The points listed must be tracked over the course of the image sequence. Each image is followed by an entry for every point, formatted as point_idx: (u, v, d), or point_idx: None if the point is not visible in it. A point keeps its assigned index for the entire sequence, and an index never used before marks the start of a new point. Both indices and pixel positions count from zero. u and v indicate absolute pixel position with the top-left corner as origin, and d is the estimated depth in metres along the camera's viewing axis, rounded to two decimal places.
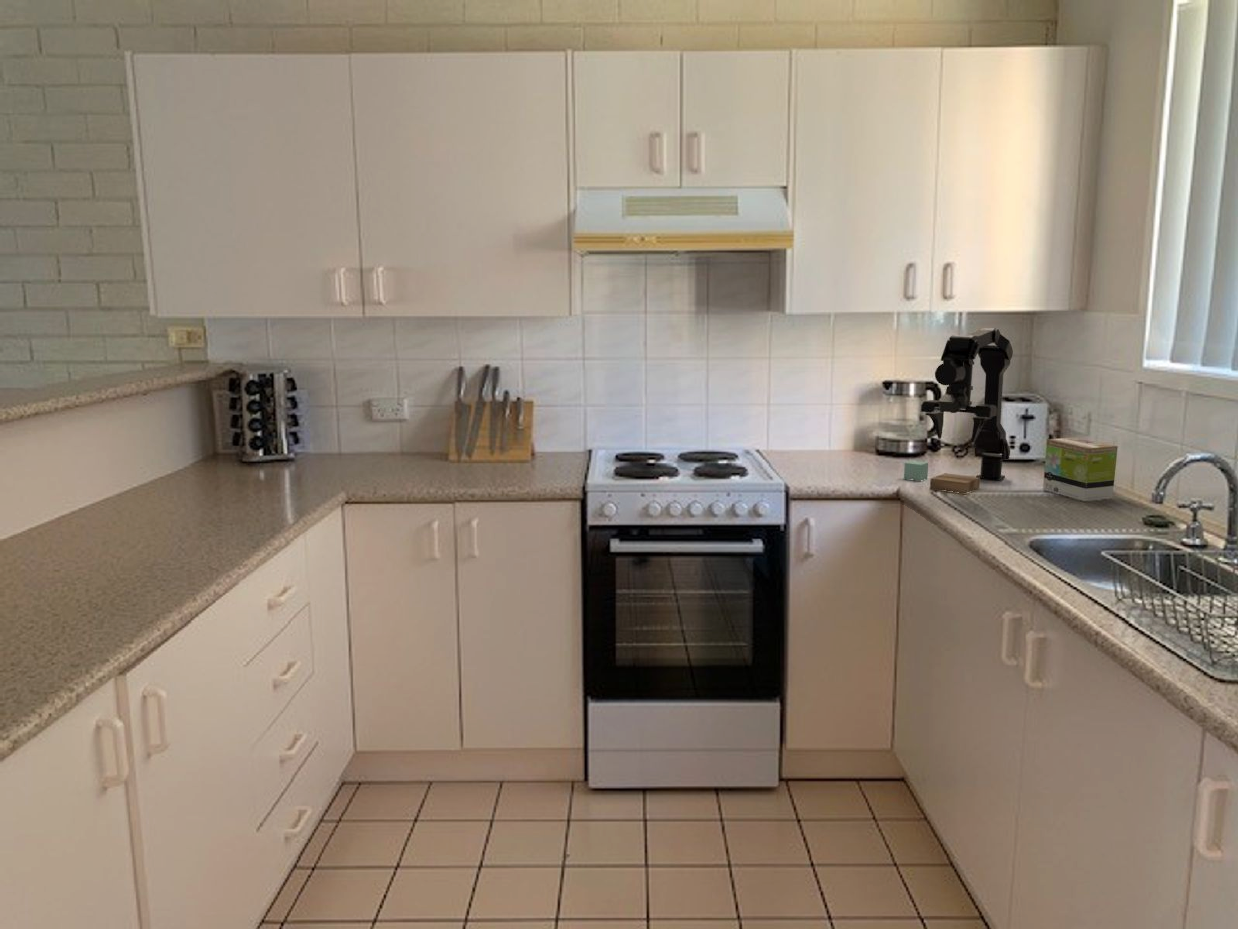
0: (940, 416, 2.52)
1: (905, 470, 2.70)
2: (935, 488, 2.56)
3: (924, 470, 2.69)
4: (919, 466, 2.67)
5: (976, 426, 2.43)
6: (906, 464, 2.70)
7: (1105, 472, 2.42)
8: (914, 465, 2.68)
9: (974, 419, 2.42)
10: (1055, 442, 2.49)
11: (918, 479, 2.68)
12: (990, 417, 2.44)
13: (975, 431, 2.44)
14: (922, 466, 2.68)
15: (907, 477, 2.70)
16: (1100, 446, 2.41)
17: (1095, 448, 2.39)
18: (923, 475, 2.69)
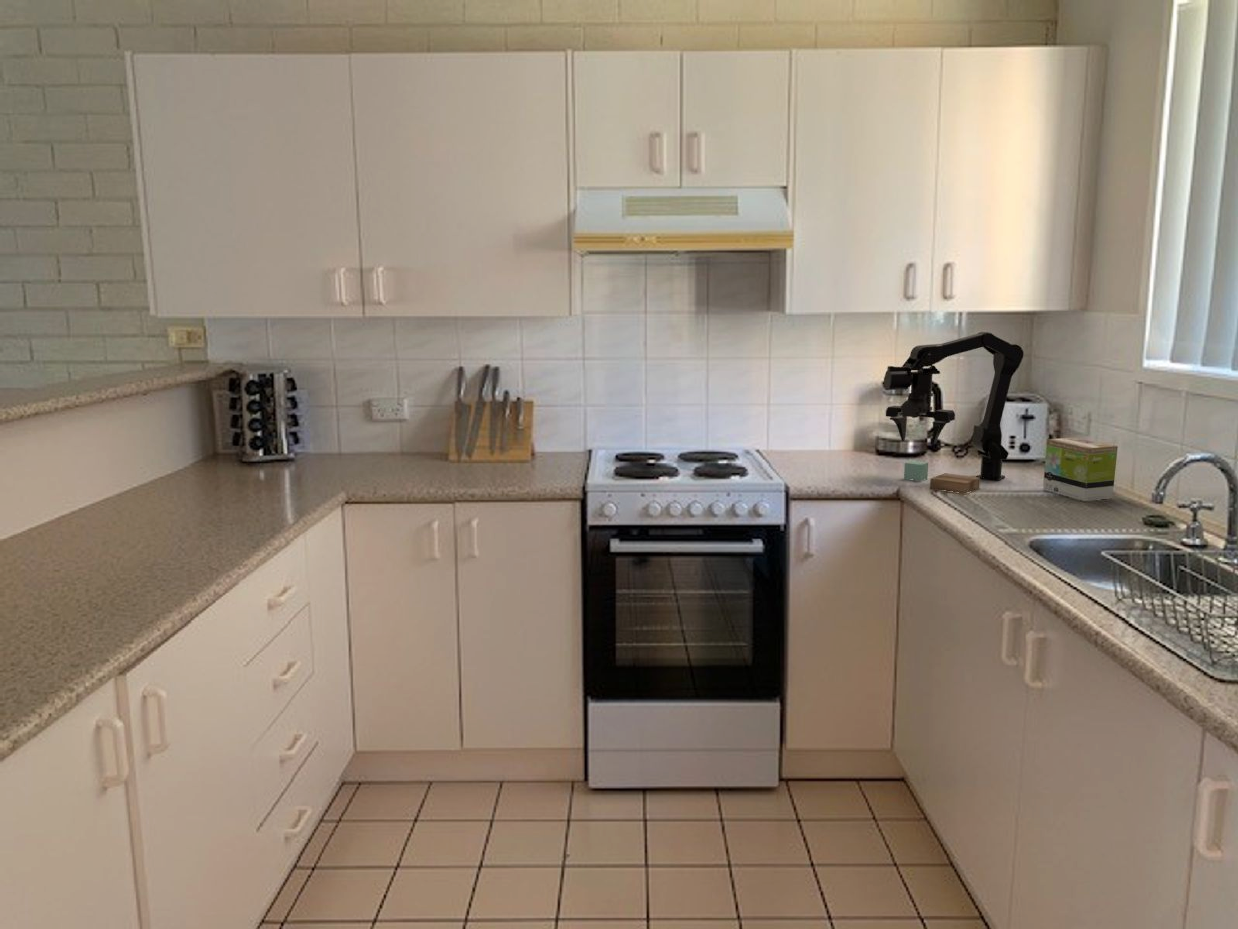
0: (903, 420, 2.72)
1: (905, 470, 2.70)
2: (935, 488, 2.56)
3: (924, 470, 2.69)
4: (919, 466, 2.67)
5: (936, 430, 2.64)
6: (906, 464, 2.70)
7: (1105, 472, 2.42)
8: (914, 465, 2.68)
9: (934, 423, 2.62)
10: (1055, 442, 2.49)
11: (918, 479, 2.68)
12: (948, 421, 2.64)
13: (935, 434, 2.64)
14: (922, 466, 2.68)
15: (907, 477, 2.70)
16: (1100, 446, 2.41)
17: (1095, 448, 2.39)
18: (923, 475, 2.69)
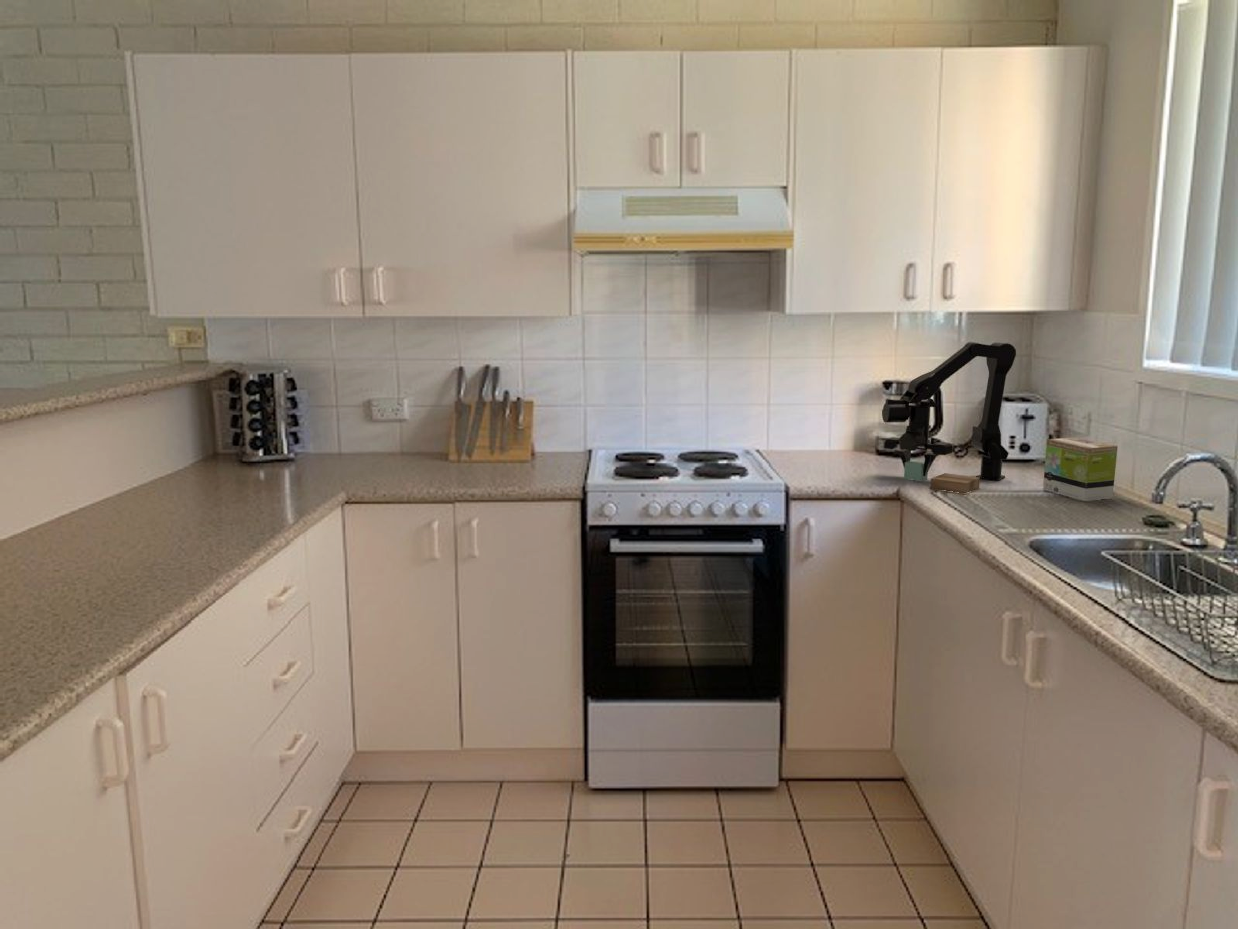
0: (908, 453, 2.72)
1: (905, 470, 2.70)
2: (935, 488, 2.56)
3: None
4: (919, 466, 2.67)
5: (927, 462, 2.67)
6: (906, 464, 2.70)
7: (1105, 472, 2.42)
8: (914, 465, 2.68)
9: (925, 455, 2.65)
10: (1055, 442, 2.49)
11: (918, 479, 2.68)
12: None
13: (926, 466, 2.67)
14: (922, 466, 2.68)
15: (907, 477, 2.70)
16: (1100, 446, 2.41)
17: (1095, 448, 2.39)
18: None
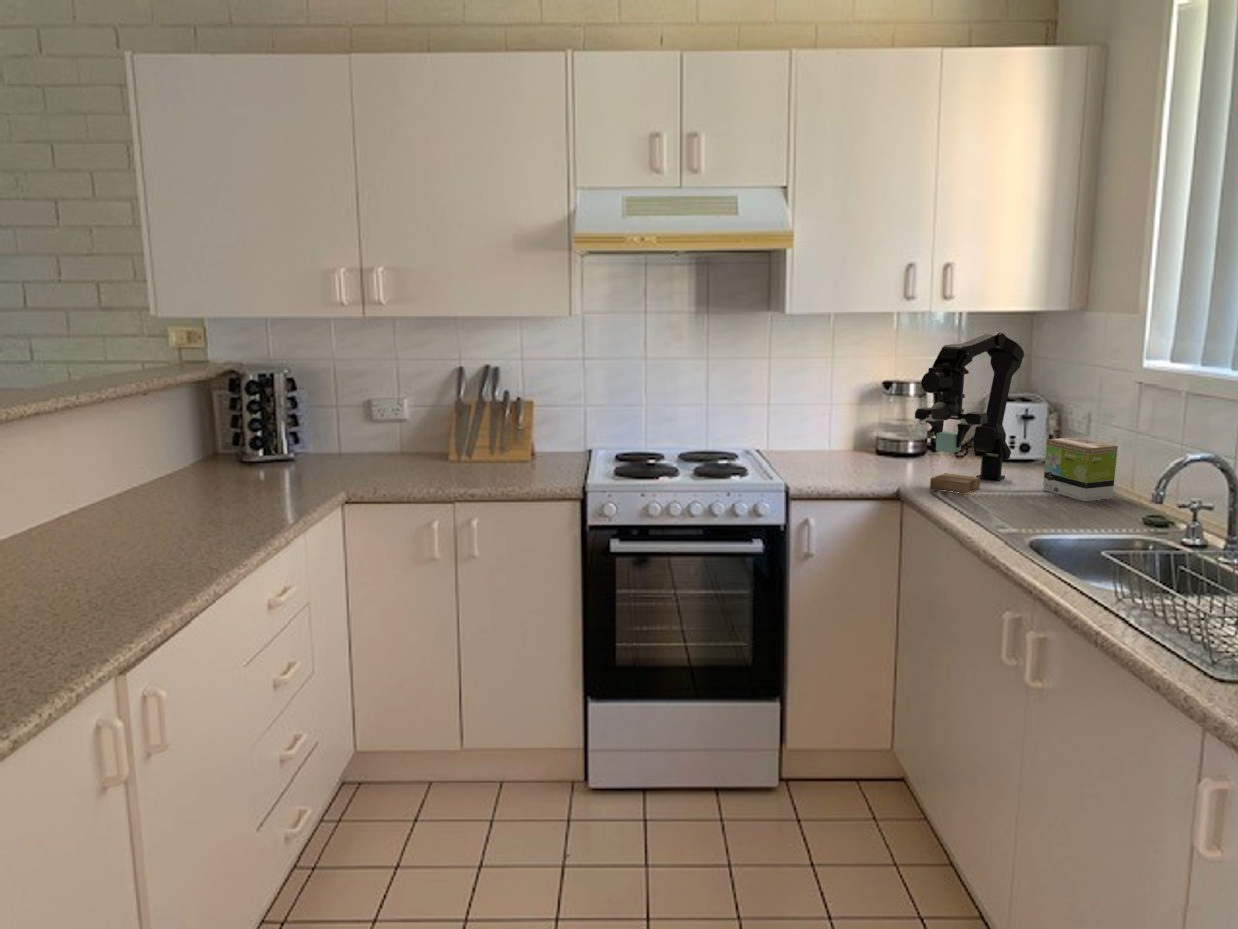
0: (940, 423, 2.60)
1: (937, 441, 2.58)
2: (935, 488, 2.56)
3: None
4: (952, 436, 2.54)
5: (960, 432, 2.54)
6: (938, 434, 2.57)
7: (1105, 472, 2.42)
8: (947, 435, 2.55)
9: (958, 425, 2.53)
10: (1055, 442, 2.49)
11: (951, 450, 2.55)
12: (974, 424, 2.54)
13: (959, 437, 2.55)
14: (955, 436, 2.55)
15: (939, 448, 2.57)
16: (1100, 446, 2.41)
17: (1095, 448, 2.39)
18: (956, 446, 2.56)
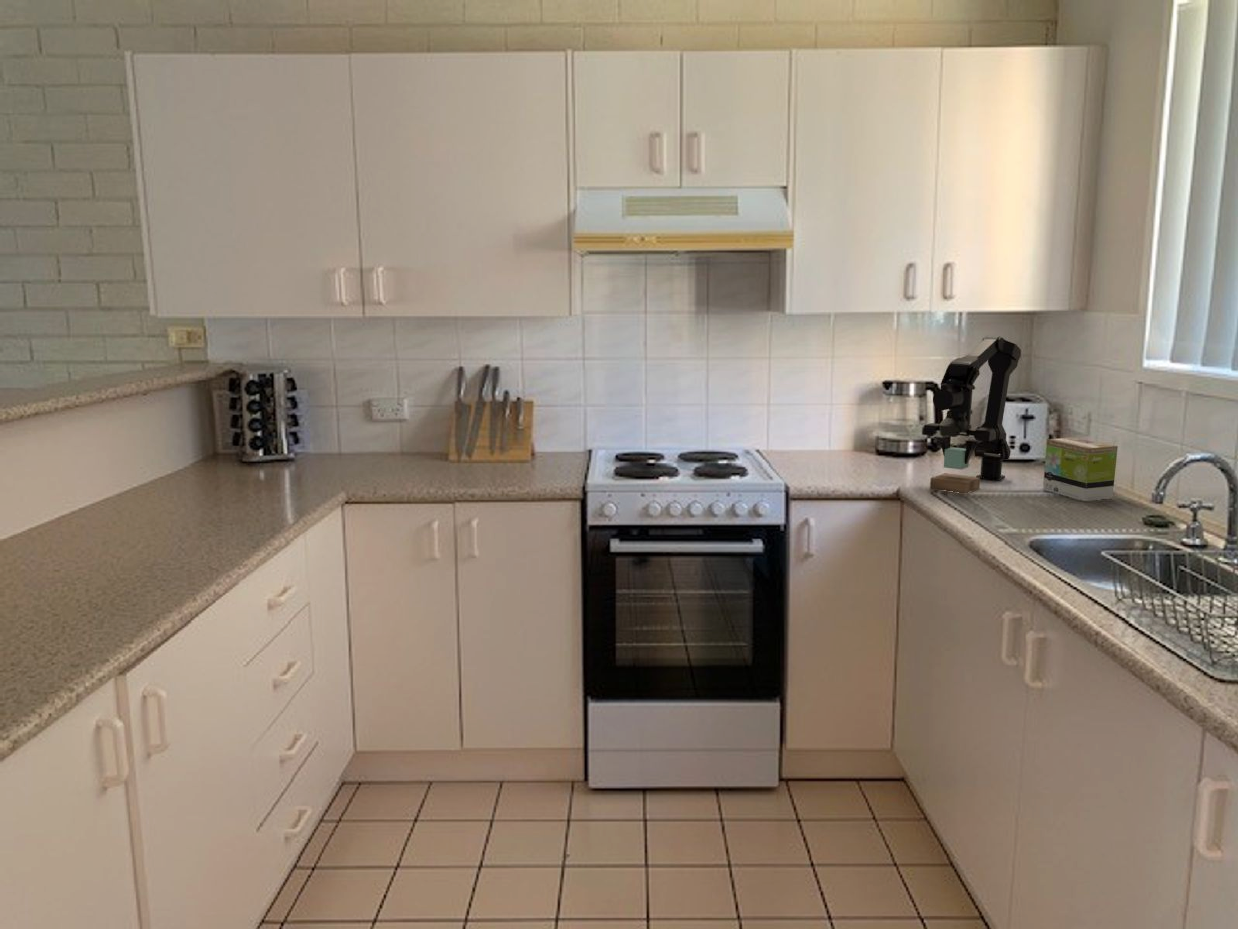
0: (947, 440, 2.58)
1: (945, 457, 2.56)
2: (935, 488, 2.56)
3: None
4: (960, 453, 2.53)
5: (969, 449, 2.52)
6: (946, 451, 2.55)
7: (1105, 472, 2.42)
8: (955, 452, 2.53)
9: (967, 442, 2.51)
10: (1055, 442, 2.49)
11: (959, 467, 2.53)
12: None
13: (968, 453, 2.53)
14: (963, 453, 2.53)
15: (947, 465, 2.55)
16: (1100, 446, 2.41)
17: (1095, 448, 2.39)
18: None
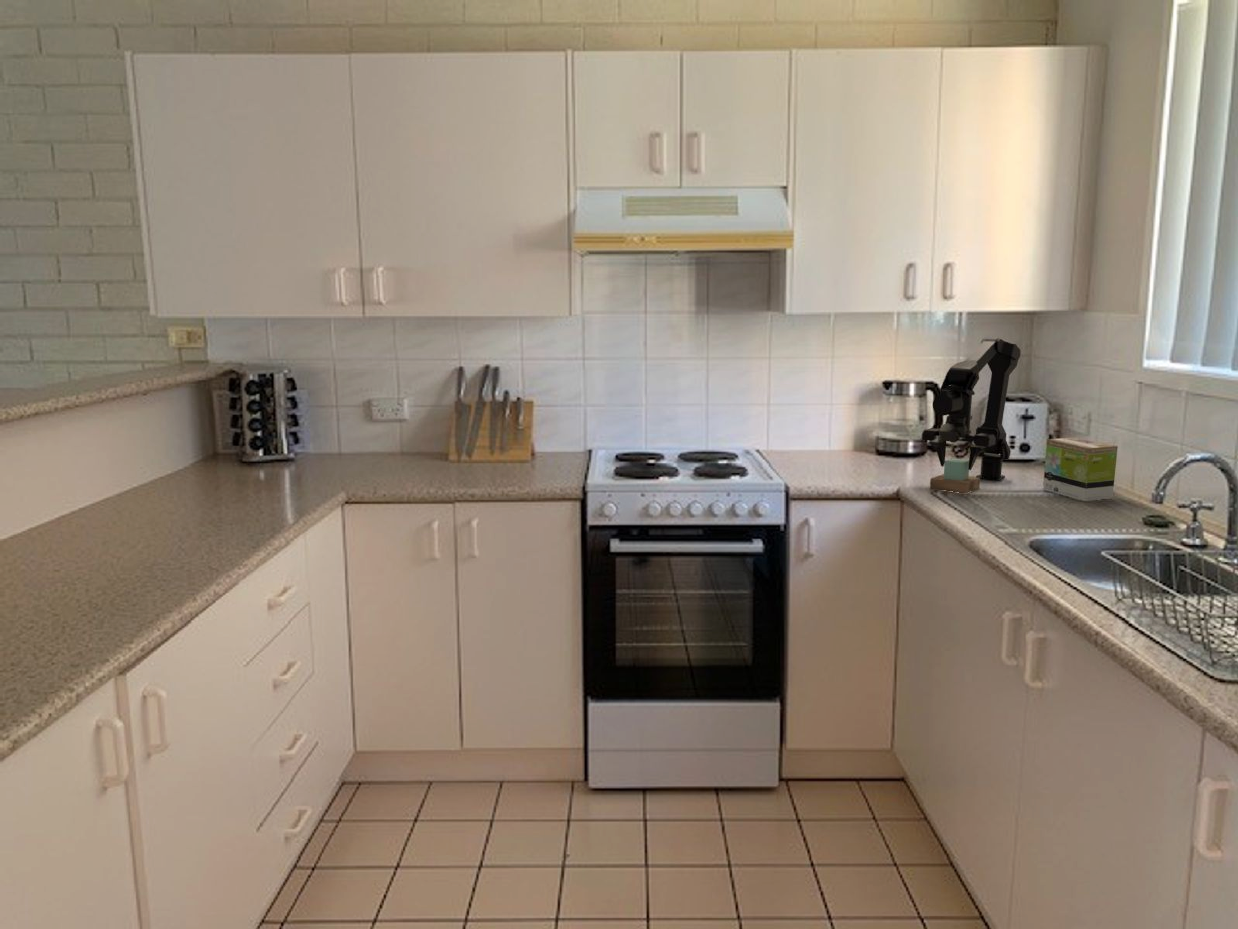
0: (943, 444, 2.59)
1: (945, 468, 2.56)
2: (935, 488, 2.56)
3: (965, 468, 2.55)
4: (960, 464, 2.53)
5: (972, 454, 2.52)
6: (946, 462, 2.56)
7: (1105, 472, 2.42)
8: (955, 463, 2.54)
9: (970, 448, 2.50)
10: (1055, 442, 2.49)
11: (959, 478, 2.54)
12: None
13: (971, 459, 2.52)
14: (963, 464, 2.53)
15: (947, 476, 2.56)
16: (1100, 446, 2.41)
17: (1095, 448, 2.39)
18: (964, 474, 2.55)
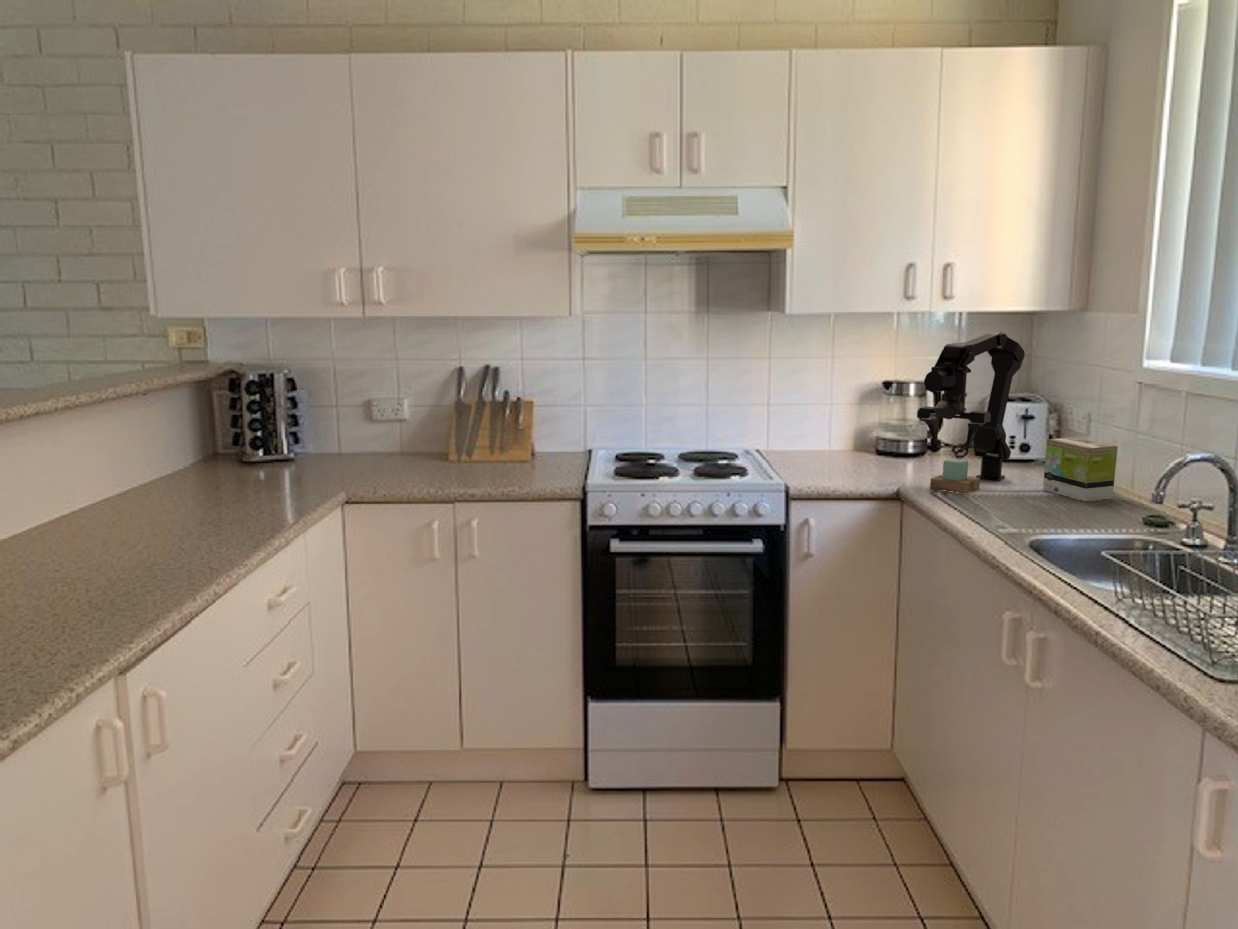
0: (935, 422, 2.61)
1: (944, 468, 2.56)
2: (935, 488, 2.56)
3: (964, 468, 2.55)
4: (959, 464, 2.53)
5: (971, 432, 2.53)
6: (945, 462, 2.55)
7: (1105, 472, 2.42)
8: (954, 463, 2.54)
9: (969, 425, 2.52)
10: (1055, 442, 2.49)
11: (958, 478, 2.54)
12: (984, 423, 2.53)
13: (970, 436, 2.53)
14: (962, 464, 2.53)
15: (946, 476, 2.56)
16: (1100, 446, 2.41)
17: (1095, 448, 2.39)
18: (963, 474, 2.55)
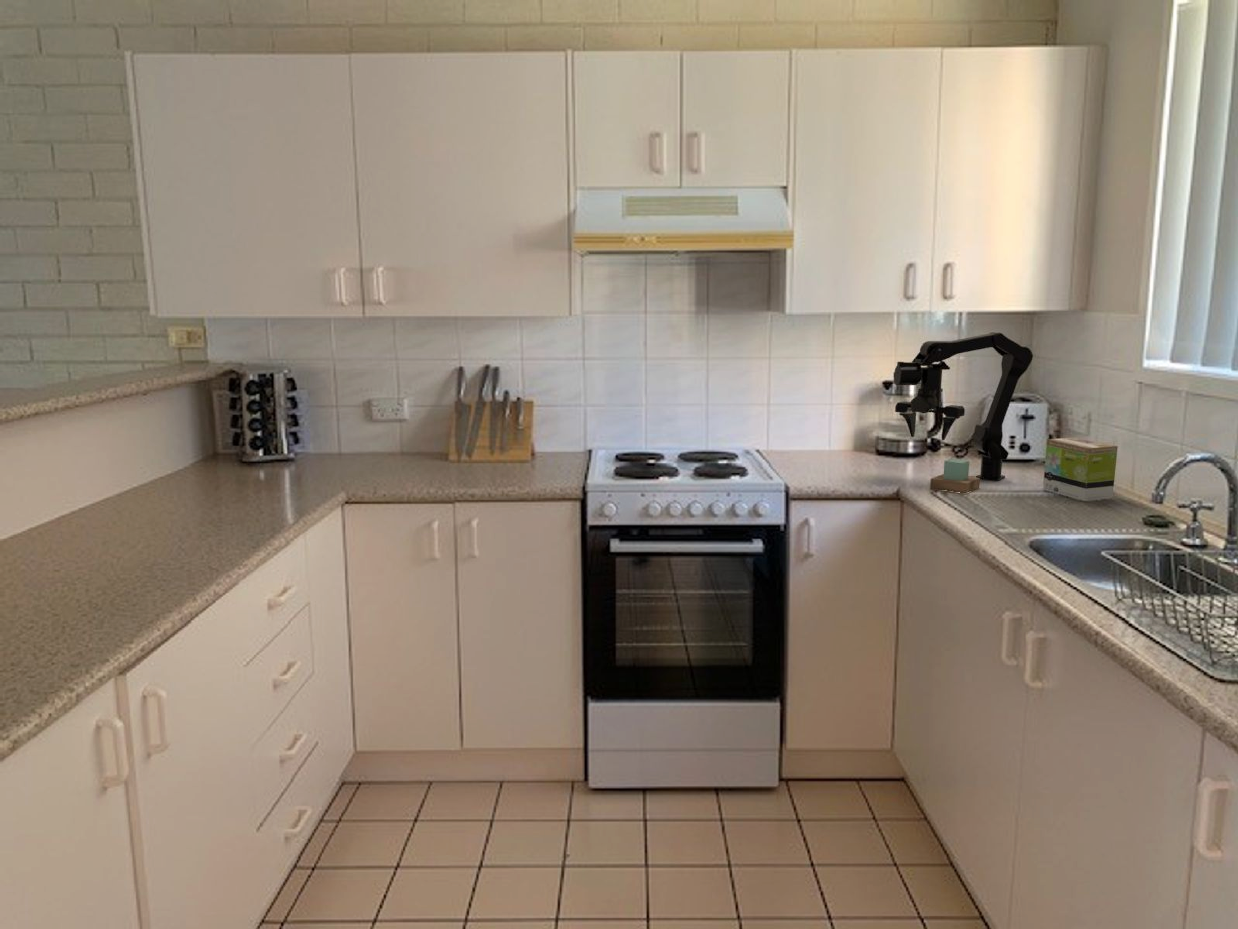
0: (913, 416, 2.72)
1: (945, 469, 2.56)
2: (935, 488, 2.56)
3: (965, 469, 2.55)
4: (960, 464, 2.53)
5: (945, 425, 2.64)
6: (946, 462, 2.55)
7: (1105, 472, 2.42)
8: (954, 463, 2.54)
9: (943, 419, 2.62)
10: (1055, 442, 2.49)
11: (959, 478, 2.54)
12: (958, 417, 2.64)
13: (944, 430, 2.64)
14: (963, 464, 2.53)
15: (947, 476, 2.56)
16: (1100, 446, 2.41)
17: (1095, 448, 2.39)
18: (964, 474, 2.55)
